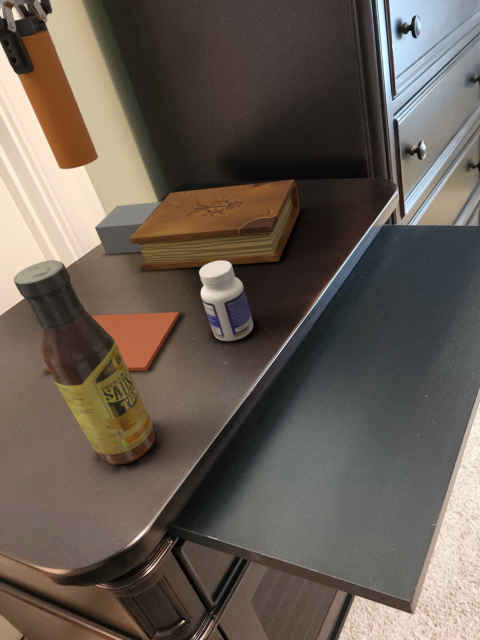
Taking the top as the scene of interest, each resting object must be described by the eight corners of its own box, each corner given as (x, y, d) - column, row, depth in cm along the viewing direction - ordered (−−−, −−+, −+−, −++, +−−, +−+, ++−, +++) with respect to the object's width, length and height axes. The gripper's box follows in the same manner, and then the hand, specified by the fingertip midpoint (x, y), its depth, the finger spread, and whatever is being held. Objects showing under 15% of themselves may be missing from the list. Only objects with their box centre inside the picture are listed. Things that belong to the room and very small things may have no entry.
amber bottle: (51, 171, 68) (-15, 27, 58) (70, 157, 72) (11, 20, 61) (87, 166, 67) (26, 19, 57) (104, 153, 71) (50, 12, 60)
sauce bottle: (150, 465, 52) (57, 289, 39) (91, 470, 52) (-20, 300, 39) (164, 419, 56) (86, 248, 43) (110, 424, 57) (17, 259, 44)
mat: (48, 372, 67) (45, 368, 67) (90, 319, 76) (89, 315, 75) (147, 370, 64) (145, 367, 63) (179, 315, 72) (178, 311, 72)
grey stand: (106, 254, 92) (94, 227, 89) (127, 231, 98) (116, 205, 95) (152, 251, 90) (142, 223, 87) (170, 228, 96) (161, 201, 93)
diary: (300, 210, 93) (295, 177, 89) (278, 262, 79) (271, 226, 76) (181, 220, 98) (171, 189, 94) (142, 270, 85) (129, 237, 81)
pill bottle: (255, 316, 69) (239, 254, 63) (252, 339, 65) (235, 276, 59) (216, 321, 70) (197, 261, 64) (211, 344, 66) (190, 282, 60)
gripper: (-34, -122, 57) (41, 59, 68) (-133, -129, 47) (-25, 87, 58) (25, -139, 55) (93, 50, 66) (-64, -149, 45) (34, 76, 56)
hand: (38, 66), depth 62 cm, fingers closed on amber bottle, 5 cm apart
